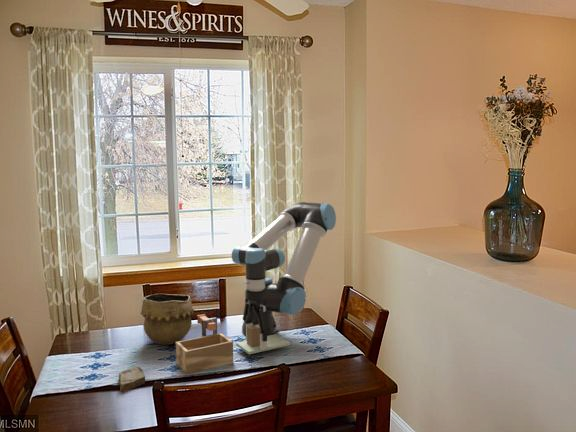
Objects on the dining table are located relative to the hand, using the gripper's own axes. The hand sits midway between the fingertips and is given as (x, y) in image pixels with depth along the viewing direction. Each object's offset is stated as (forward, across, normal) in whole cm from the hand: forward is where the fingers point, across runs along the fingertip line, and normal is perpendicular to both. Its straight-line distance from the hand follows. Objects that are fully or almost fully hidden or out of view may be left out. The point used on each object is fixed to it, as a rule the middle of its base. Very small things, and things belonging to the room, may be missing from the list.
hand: (256, 344), depth 192 cm
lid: (+1, 0, +3) cm, 3 cm away
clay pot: (+3, -28, -26) cm, 38 cm away
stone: (+4, 0, -48) cm, 48 cm away
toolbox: (+3, -1, -21) cm, 21 cm away
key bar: (-6, -13, -15) cm, 21 cm away
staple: (+3, -10, -15) cm, 19 cm away
